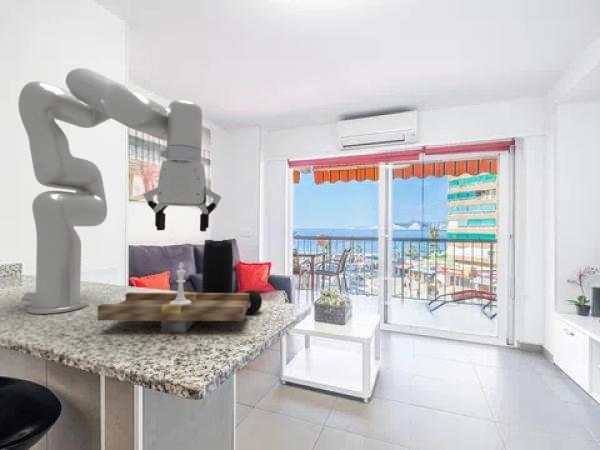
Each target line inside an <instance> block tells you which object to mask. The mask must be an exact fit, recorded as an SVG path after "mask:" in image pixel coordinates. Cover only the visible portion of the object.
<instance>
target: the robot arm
mask: <svg viewBox="0 0 600 450" xmlns="http://www.w3.org/2000/svg"><path fill="white" fill-rule="evenodd" d="M65 84H66V87H67V90H66V89H65V88H62V87H59V86H56V85H55V84H51V83H47V82H43V81H30V82H28V83H26V84H25V85H24V86H23V87H22V89H21V91H20V93H19V96H18V103H17V105H18V112H19V116H20V119H21V122H22V125H23V127H24V129H25V133H26V135H27V139H28V143H29V150H30V156H31V162H32V168H33V173H34V177H35V180H36V181H37V182H38V183H39V184H41V186H45V187H46V188H53V189H63V190H64V191H63V190H48V191H43V192H41V193H39V194H38V195H37V196H35V198H34V199H33V201H32V205H31V206H32V207H31V208H32V215H33V219H34V224H35V232H36V262H35V263H36V264H35V265H36V266H35V268H36V270H35V271H36V272H35V273H36V274H35V291H33V292H25V293H24V295H23V296H22V297H21V301H22V302H29V301H30V303H31V304H30V305H28V306H27V312H28V313H30V314H33V315H34V314H36V315H49V314H59V313H65V312H71V311H75V310H79V309H82V308H85V307H86V306H87V304H88V302H87V301H88V300H86V299H85V298H81V274H82V273H81V272H82V271H81V270H82V269H81V267H82V263H81V262H82V241H81V238H80V236H79V233H78V232H77V231H76V229H75V228H74V227H97V226H99V225H102V224H103V223H104V222H105V220H106V219H107V215H108V204H107V199H106V191H105V188H104V183H103V182H104V181H103V177H102V176H103V175H102V172H101V170H100V168H99V167H98V166H97V165H96V163H94V162H92V161H91V160H88V159H84V158H79V157H76V156H74V155H72V153H71V150H70V144H69V139H68V138H67V136H66V134H65V133H64V131H63V130H62V127H60V126H59V124H58V123H57V122H56V120H58V121H61V122H64V123H66V124H69V125H70V124H71V125H73V126H75V127H76V126H77V127H78V128H84V129H89V128H93V127H96V126H98V125H100V124H103V123H105V122H107V121H109V120H111V119H112V120H114V121H116V122H118V123H120V124H121V125H123V126H125V127H127V128H130V129H133V130H134V131H137V132H139V133H143V134H145V135H148V136H151V137H153V138H155V139H158V140H161V141H165V142H166V147H165V150H164V151H162V150H161V151H160V153H159V154H160V157H161V158H164V159H165V160H162V161H161V165H160V170H159V175H158V181H157V183H158V184H157V187H156V188H153V189H151V190H149V191H147V192H146V191H145V192H144V193H143V197H144V199H145V201H146V202H147V205H148V206H149V207H150V209H151V210H152V211H153V212H154V213H155V215H154V225H155V228H156V230H157V231H165V230H166V213H165V212H164V211H165V210H166V209H167V208H168V207H169V206H174V207H175V206H177V207H178V206H179V207H180V206H181V207H183V206H184V207H198V208H199V210H200V211H201V214H200V216H199V223H200V224H199V231H200V232H207V229H209V227H210V226H209V225H210V219H209V218H210V215H211V213H212V212H213V211H214V210H216V208H217V207H218V205H219V203H220V201H221V199H222V196H221V195H219V194H218V193H216V192H214V191H212V190H211V189H208V188H207V181H206V178H207V177H206V170H205V166H204V163H202V144H203V143H202V141H203V139H202V138H203V111H202V108H201V106H199V105H198V104H196V103H195V102H192V101H188V100H177V99H176V100H173V101H172V102H170V103H169V105H168V107H166V106H163V105H162V104H159V103H158V102H155V101H154V100H152V99H150V98H148V97H145V96H144V95H141V94H139V93H138V92H134V91H132V90H131V89H129V88H128V87H126V86H125V85H124V84H121V83H119V82H117V81H114V80H113V79H111V78H108V77H106V76H104V75H102V74H100V73H97V72H96V71H93V70H91V69H88V68H87V69H86V68H82V67H81V68H75V69H72V70H70V71H69V72H68V73H67V74H66V78H65ZM65 190H69V191H65ZM73 191H75V192H73ZM155 196H156V199H157V202H158V203H156V201H155V199H154V197H155ZM207 196H209V197H210V198H212V201H211V203H209V205H208V206H207V205H206V203H207Z"/></svg>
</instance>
